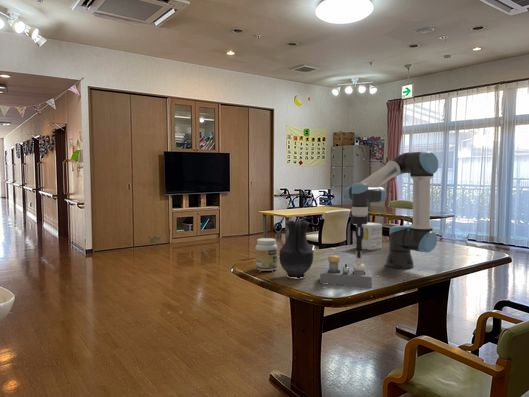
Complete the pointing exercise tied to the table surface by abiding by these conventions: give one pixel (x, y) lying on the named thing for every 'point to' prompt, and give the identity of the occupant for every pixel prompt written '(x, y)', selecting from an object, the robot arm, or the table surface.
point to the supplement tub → (266, 254)
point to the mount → (346, 278)
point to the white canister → (372, 236)
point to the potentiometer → (345, 269)
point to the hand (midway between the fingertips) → (358, 264)
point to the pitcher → (296, 250)
